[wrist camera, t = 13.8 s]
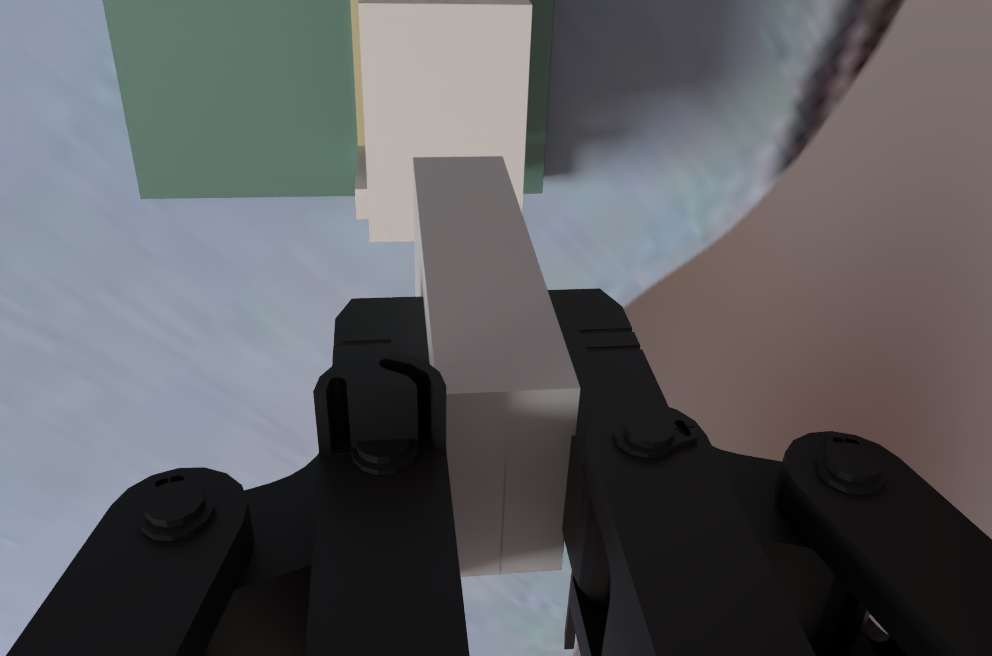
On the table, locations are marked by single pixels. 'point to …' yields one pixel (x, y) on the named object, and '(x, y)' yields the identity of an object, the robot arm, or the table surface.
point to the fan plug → (439, 94)
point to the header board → (265, 97)
